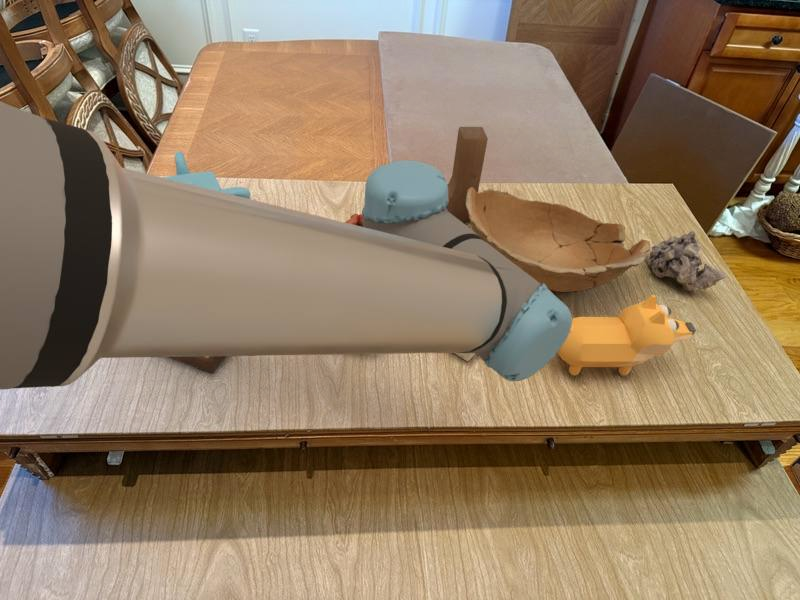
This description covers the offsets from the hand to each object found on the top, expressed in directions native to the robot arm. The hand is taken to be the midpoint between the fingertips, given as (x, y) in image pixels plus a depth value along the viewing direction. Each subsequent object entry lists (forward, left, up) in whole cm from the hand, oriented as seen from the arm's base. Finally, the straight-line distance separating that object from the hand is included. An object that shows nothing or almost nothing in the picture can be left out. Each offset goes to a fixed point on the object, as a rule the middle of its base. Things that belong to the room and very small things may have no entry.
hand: (147, 223), depth 65 cm
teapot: (+12, +21, -22) cm, 32 cm away
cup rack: (-2, +5, -22) cm, 22 cm away
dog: (+48, -41, -22) cm, 67 cm away
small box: (+34, -25, -22) cm, 47 cm away
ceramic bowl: (+58, -20, -22) cm, 65 cm away
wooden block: (+55, +1, -22) cm, 59 cm away
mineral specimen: (+76, -36, -22) cm, 86 cm away
